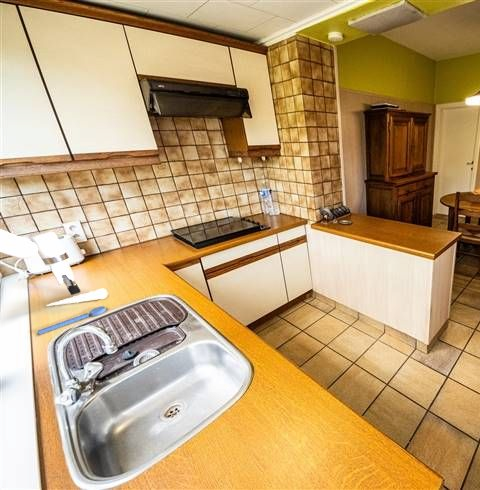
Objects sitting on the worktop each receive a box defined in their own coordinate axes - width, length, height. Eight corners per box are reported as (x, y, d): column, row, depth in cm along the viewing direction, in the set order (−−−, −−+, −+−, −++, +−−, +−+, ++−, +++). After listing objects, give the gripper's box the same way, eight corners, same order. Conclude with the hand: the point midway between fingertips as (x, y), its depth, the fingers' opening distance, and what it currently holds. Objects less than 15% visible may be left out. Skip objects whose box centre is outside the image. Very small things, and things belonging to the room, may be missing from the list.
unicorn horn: (53, 301, 123) (47, 293, 122) (109, 294, 127) (105, 286, 125) (43, 307, 119) (37, 299, 117) (102, 300, 122) (97, 291, 120)
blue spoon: (38, 336, 101) (36, 333, 101) (40, 330, 104) (38, 328, 104) (106, 311, 114) (105, 309, 113) (105, 307, 117) (104, 304, 117)
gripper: (44, 257, 121) (65, 291, 128) (42, 266, 111) (64, 302, 119) (67, 251, 126) (86, 284, 133) (67, 260, 116) (87, 295, 124)
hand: (76, 293), depth 126 cm, fingers closed
